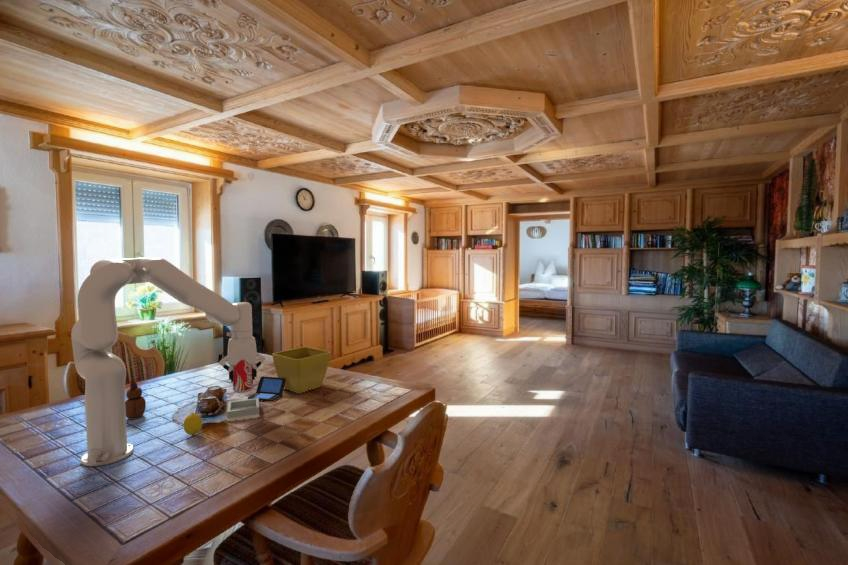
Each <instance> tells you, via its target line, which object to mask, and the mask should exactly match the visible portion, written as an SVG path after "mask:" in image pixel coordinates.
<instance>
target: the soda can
mask: <svg viewBox="0 0 848 565" xmlns="http://www.w3.org/2000/svg"><path fill="white" fill-rule="evenodd" d="M245 360H246V359H243V360H240V362H238V363H237V365H236V366H233V369H232V370H233V382H232V390H233V391H234V392H235V393H236V394H243V393H244V394H245V393H249V392H251V391H252V390H253V388H254V380H253V366H252V364H248V362H246V361H245Z"/></svg>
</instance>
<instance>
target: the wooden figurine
mask: <svg viewBox="0 0 848 565" xmlns="http://www.w3.org/2000/svg"><path fill="white" fill-rule="evenodd" d="M129 384H130V388H129V389H128V390H127V391H126V393H125V397H126V398H127V399H126V400H125V406H126V419H128V420H135V419H139V418H141V417H143V416H144V415H145V412H146V407H147V406H146V405H147V404H146V399H145V397H143V396H142V395H143V390H142V388H141V387H138V384H137V381H135V380H134V379H133V380H132V379H130V383H129Z"/></svg>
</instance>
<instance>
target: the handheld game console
mask: <svg viewBox="0 0 848 565" xmlns="http://www.w3.org/2000/svg"><path fill="white" fill-rule="evenodd" d="M285 382H286V379H285V378H278V376H277V377H273V376H263V375H262V376H261V377H260V379H259V382H258V383H257V384H258V385H257V388H256V391H255V392H254V393H253V394H251V395H249V396H248V397H247V399H254V398H259V400H262V401H261V402H266V401H274V400H276V399H277V398H279V397H280V398H282V397H283V393H284V390H285V389H284V386H285ZM281 396H282V397H281ZM280 398H279V399H280ZM277 400H278V399H277ZM277 400H276V401H277ZM274 402H275V401H274Z"/></svg>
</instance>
